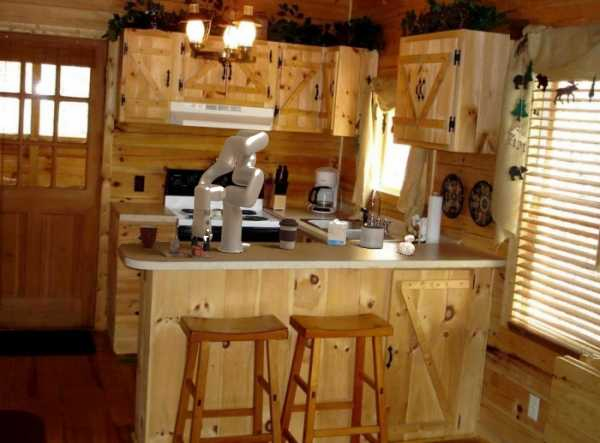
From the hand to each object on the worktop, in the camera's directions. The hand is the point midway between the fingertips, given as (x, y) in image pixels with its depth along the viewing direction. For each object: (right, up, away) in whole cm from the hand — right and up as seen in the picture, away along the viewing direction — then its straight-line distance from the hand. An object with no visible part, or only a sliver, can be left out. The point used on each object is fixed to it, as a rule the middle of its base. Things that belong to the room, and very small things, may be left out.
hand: (200, 249), depth 378 cm
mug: (-26, 0, +12) cm, 29 cm away
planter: (+84, -1, +63) cm, 106 cm away
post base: (-12, -3, -2) cm, 12 cm away
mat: (0, -3, 0) cm, 3 cm away
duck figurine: (+102, -5, +49) cm, 113 cm away
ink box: (+66, 0, +65) cm, 93 cm away
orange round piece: (0, -3, 0) cm, 3 cm away
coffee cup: (+39, -1, +39) cm, 56 cm away
